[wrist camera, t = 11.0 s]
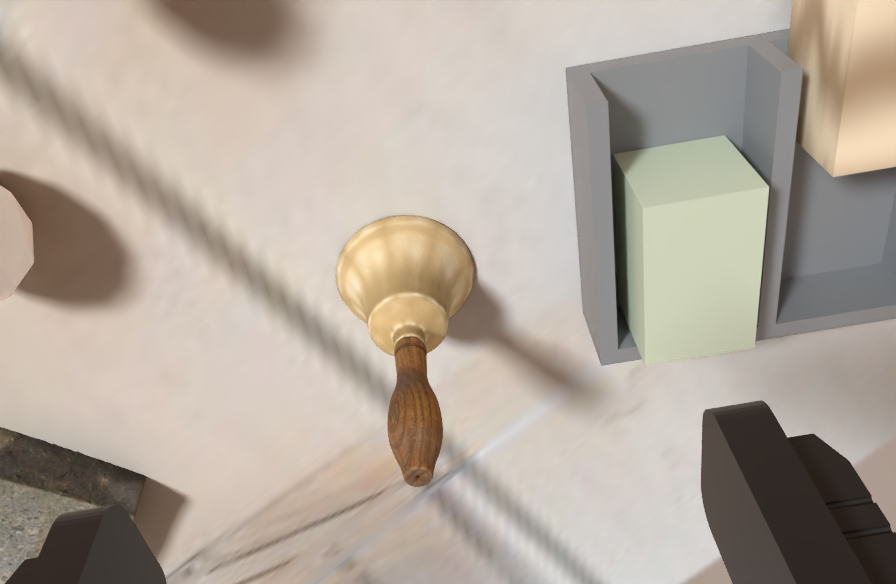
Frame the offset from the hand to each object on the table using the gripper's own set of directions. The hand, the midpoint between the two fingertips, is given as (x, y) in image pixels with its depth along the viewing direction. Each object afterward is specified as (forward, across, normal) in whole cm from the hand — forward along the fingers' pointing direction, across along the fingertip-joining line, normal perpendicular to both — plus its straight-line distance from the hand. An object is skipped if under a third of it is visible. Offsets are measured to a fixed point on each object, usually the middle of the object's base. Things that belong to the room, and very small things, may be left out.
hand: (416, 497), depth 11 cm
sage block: (+31, -12, +16) cm, 37 cm away
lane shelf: (+32, -17, +14) cm, 39 cm away
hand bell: (+33, +3, +17) cm, 37 cm away
